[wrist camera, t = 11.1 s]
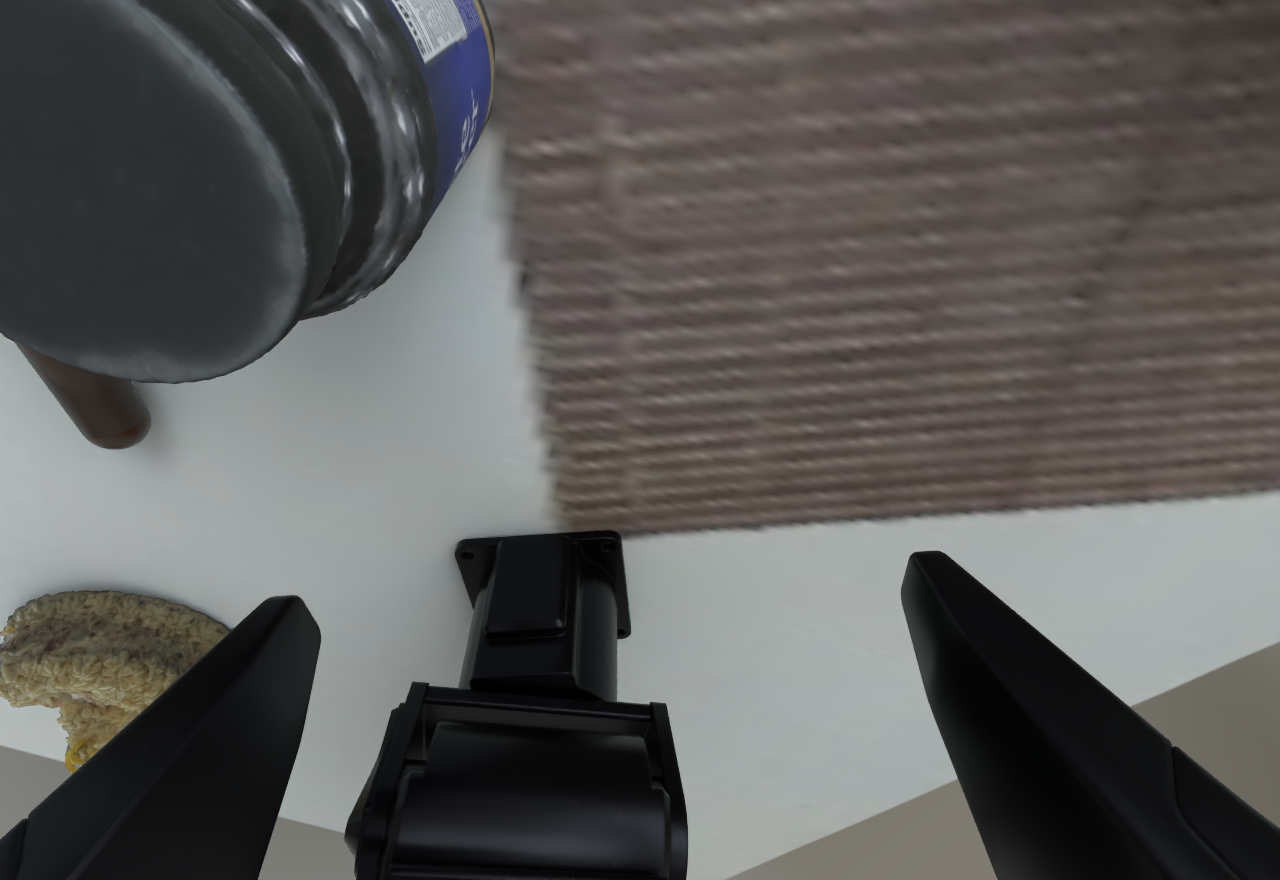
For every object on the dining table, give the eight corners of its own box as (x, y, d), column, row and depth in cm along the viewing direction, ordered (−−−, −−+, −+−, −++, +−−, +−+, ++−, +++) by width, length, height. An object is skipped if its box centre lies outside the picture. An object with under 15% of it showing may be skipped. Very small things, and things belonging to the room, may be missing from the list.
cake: (188, 557, 27) (124, 675, 23) (301, 687, 33) (266, 798, 29) (-52, 601, 27) (-160, 727, 23) (106, 723, 33) (44, 839, 29)
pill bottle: (401, 226, 18) (213, 503, 10) (181, 38, 16) (-363, 196, 7) (554, 54, 16) (482, 221, 7) (326, -207, 13) (-237, -443, 4)
